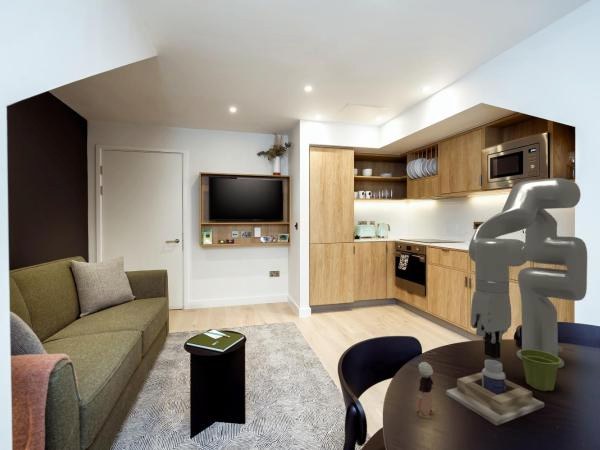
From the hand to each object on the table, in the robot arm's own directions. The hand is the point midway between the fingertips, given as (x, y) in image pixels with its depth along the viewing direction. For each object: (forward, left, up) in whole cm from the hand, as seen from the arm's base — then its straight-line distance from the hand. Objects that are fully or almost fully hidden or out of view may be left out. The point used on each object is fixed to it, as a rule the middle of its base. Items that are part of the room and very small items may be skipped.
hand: (492, 356), depth 78 cm
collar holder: (0, 0, -12) cm, 12 cm away
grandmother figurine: (+21, -3, -12) cm, 24 cm away
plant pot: (-19, 0, -12) cm, 23 cm away
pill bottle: (-1, 0, -11) cm, 11 cm away
